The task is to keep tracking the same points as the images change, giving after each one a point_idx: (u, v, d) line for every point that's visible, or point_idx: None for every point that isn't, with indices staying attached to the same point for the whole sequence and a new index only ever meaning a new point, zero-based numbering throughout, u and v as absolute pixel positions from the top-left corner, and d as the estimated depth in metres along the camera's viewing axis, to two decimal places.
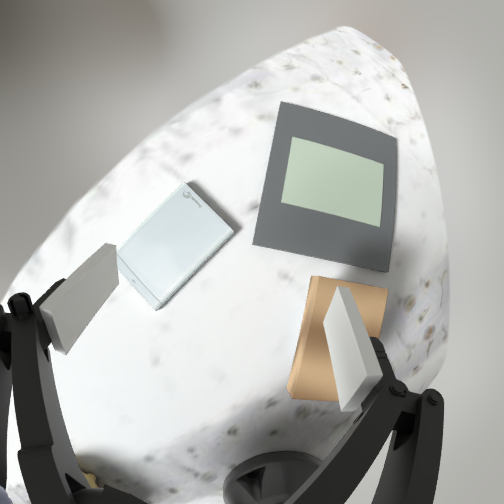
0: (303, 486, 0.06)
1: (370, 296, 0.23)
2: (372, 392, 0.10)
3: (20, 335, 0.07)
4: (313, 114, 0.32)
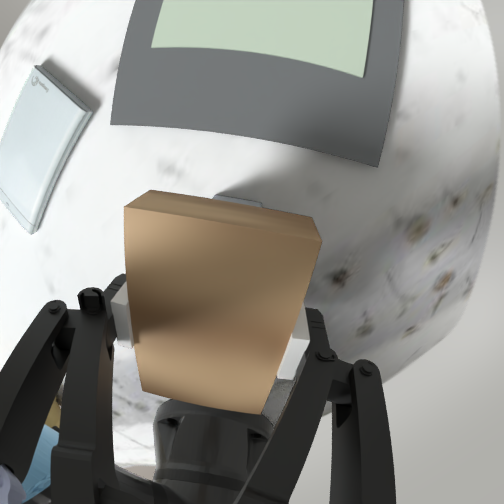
0: (255, 467, 0.07)
1: (264, 256, 0.10)
2: (302, 358, 0.11)
3: (85, 330, 0.09)
4: None
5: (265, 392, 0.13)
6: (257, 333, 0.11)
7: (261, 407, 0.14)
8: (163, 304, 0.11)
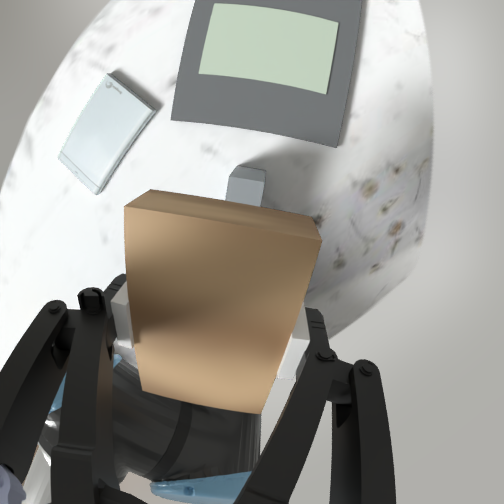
0: (255, 467, 0.07)
1: (264, 256, 0.10)
2: (302, 358, 0.11)
3: (85, 330, 0.09)
4: None
5: (265, 392, 0.13)
6: (258, 332, 0.11)
7: (261, 407, 0.14)
8: (163, 304, 0.11)
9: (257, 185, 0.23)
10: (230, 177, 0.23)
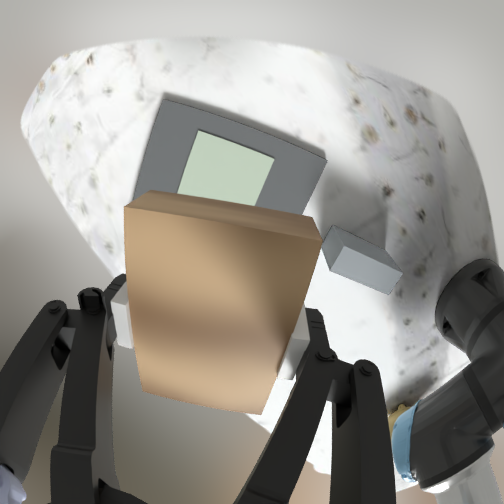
0: (255, 467, 0.07)
1: (264, 256, 0.10)
2: (302, 358, 0.11)
3: (85, 330, 0.09)
4: None
5: (266, 392, 0.13)
6: (258, 333, 0.11)
7: (262, 407, 0.14)
8: (164, 305, 0.11)
9: (344, 251, 0.26)
10: (331, 270, 0.27)
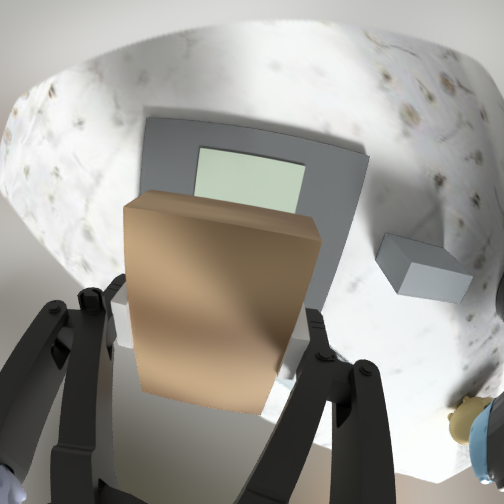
0: (255, 467, 0.07)
1: (264, 257, 0.10)
2: (302, 358, 0.11)
3: (85, 330, 0.09)
4: None
5: (265, 392, 0.13)
6: (258, 333, 0.11)
7: (261, 407, 0.14)
8: (163, 304, 0.11)
9: (412, 269, 0.19)
10: (398, 293, 0.20)
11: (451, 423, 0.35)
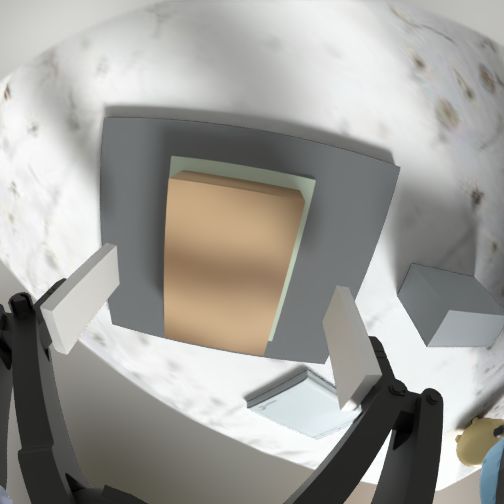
0: (302, 486, 0.06)
1: (266, 212, 0.14)
2: (371, 392, 0.10)
3: (21, 335, 0.07)
4: None
5: (267, 331, 0.17)
6: (261, 273, 0.16)
7: (264, 347, 0.18)
8: (192, 251, 0.15)
9: (448, 317, 0.13)
10: (428, 345, 0.14)
11: (459, 446, 0.30)
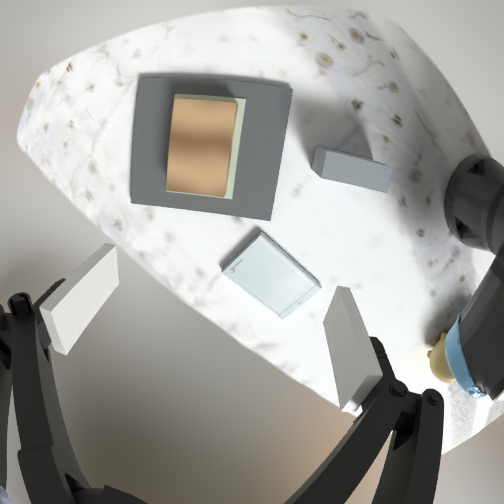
0: (303, 486, 0.06)
1: (218, 109, 0.27)
2: (372, 392, 0.10)
3: (20, 335, 0.07)
4: (136, 171, 0.33)
5: (224, 177, 0.31)
6: (218, 140, 0.29)
7: (223, 190, 0.31)
8: (184, 132, 0.28)
9: (329, 156, 0.27)
10: (322, 177, 0.28)
11: (431, 359, 0.44)
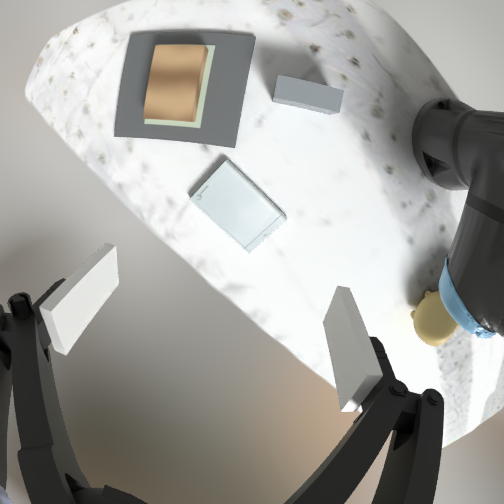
0: (303, 486, 0.06)
1: (190, 51, 0.28)
2: (372, 392, 0.10)
3: (20, 335, 0.07)
4: (121, 108, 0.34)
5: (191, 104, 0.32)
6: (188, 74, 0.30)
7: (190, 115, 0.32)
8: (161, 70, 0.29)
9: (280, 79, 0.28)
10: (274, 96, 0.29)
11: (414, 318, 0.44)
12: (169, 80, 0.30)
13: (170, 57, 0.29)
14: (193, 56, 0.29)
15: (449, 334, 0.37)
